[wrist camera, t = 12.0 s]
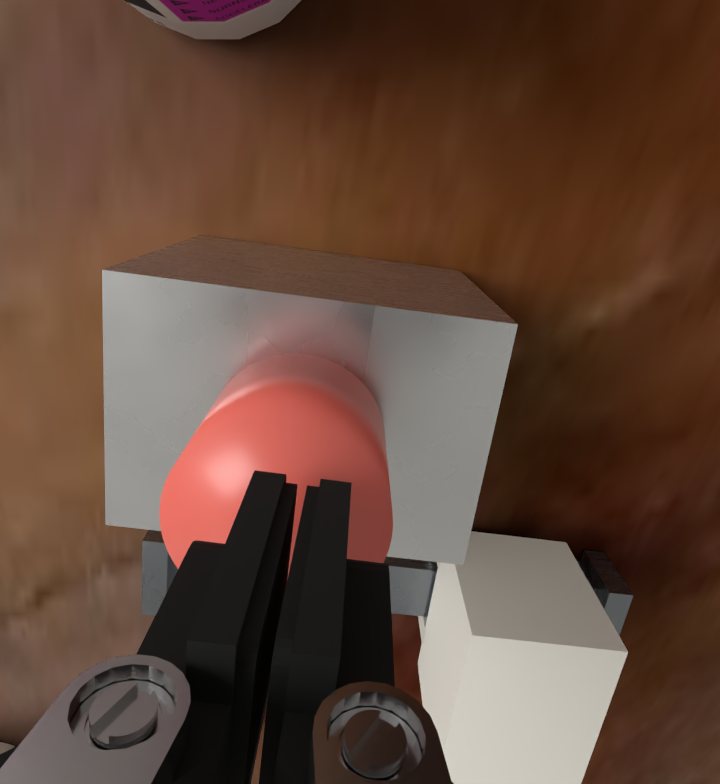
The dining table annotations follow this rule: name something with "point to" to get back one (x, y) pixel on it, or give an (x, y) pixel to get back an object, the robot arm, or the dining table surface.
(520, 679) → the carriage
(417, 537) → the grey box
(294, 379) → the button
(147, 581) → the rail
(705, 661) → the dining table surface
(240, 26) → the supplement can
